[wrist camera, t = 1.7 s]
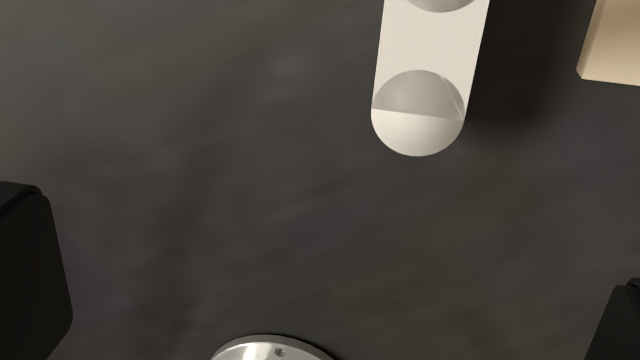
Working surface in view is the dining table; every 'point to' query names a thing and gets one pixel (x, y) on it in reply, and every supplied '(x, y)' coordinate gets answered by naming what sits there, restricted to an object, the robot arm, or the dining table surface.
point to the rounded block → (425, 72)
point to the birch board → (612, 43)
